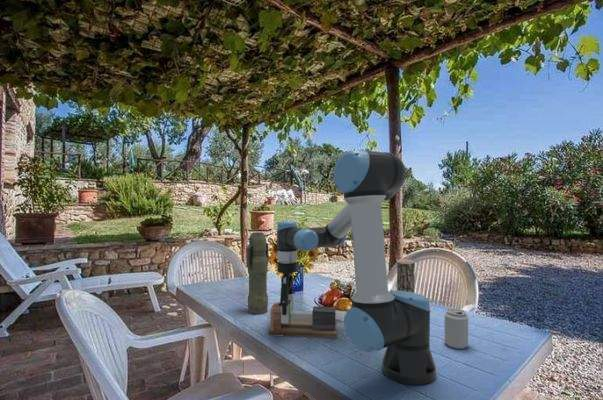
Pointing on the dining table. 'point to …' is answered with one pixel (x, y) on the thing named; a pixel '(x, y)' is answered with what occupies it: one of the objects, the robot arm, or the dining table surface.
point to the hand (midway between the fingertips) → (287, 316)
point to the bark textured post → (405, 275)
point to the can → (456, 328)
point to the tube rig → (305, 324)
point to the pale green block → (298, 315)
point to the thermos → (257, 273)
